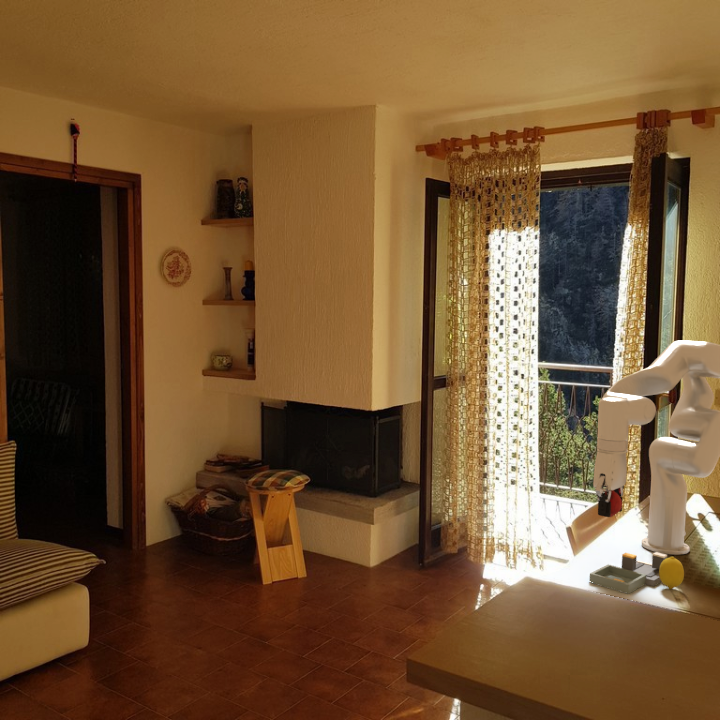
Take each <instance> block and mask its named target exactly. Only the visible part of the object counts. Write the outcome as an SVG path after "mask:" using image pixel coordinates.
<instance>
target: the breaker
mask: <svg viewBox="0 0 720 720" xmlns="http://www.w3.org/2000/svg"><path fill="white" fill-rule="evenodd" d="M666 558H668V554H663V553H658V552H653V553H652V559H651V562H652V563H651V564H652V568H655V569H660V565H661V563H662V561H663V560H665V559H666Z"/></svg>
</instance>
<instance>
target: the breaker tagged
mask: <svg viewBox="0 0 720 720" xmlns="http://www.w3.org/2000/svg"><path fill="white" fill-rule="evenodd" d="M621 556H622V557H621V568H623V569H627V570H631V571H634V570H636V561H637V558H638V557H637V555H636V554H632V553H629V552H624V553H622V554H621Z"/></svg>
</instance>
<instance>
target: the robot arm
mask: <svg viewBox="0 0 720 720" xmlns="http://www.w3.org/2000/svg"><path fill="white" fill-rule="evenodd" d="M707 378H713V379H720V344H718V343H714V342H710V341H704V340H703V341H701V340H699V341H698V340H689V339H686V340H685V339H683V340H674V341H673V342H671V343H670V344H668V346H667V347H666V348H665V349H664V350H663V351H662V352H661V353H660V354H659V355H658V356H657V358H655V359H654V361H653V362H652V363H651V364H650V365H649V366H648V367H645V368H644V369H640V370H638V371H636V372H633V373H631V374H629V375H625V376H623V378H620V379H619V380H617V381H615V383H613V384H612V386H611V387H610V388H609V389H607V391H606V392H605V393H604V394H603V396H602V398H601V399H600V400H599V402H598V414H597V416H598V417H597V419H598V421H597V440H596V441H597V445H596V450H597V451H596V457H595V463H594V469H593V470H594V473H593V483H592V484H593V488H594V489H595V491H594V492H595V493H596V496H597V515H598V516H601V517H605V518H611V517H610V515H611V502H609V501H610V496H611V491H613V490H614V491H615V492H616V493H617V494H618V495H619V496H620V498H621V500H622V501H623V497H624V489H625V485H626V483H627V477H628V474H627V470H628V469H627V468H628V466H627V463H628V461H627V453H628V452H629V427H630V425H633V426H634V425H635V426H644V425H647V424H648V423H649V424H650V423H651V422H652V421H653V420H654V418H655V417H656V413H657V412H656V411H657V410H656V409H657V408H656V405H655V403H654V402H653V400H651V399H650V398H648V397H646V396H653V395H660V394H663V393H667V392H670V391H671V390H673V389H674V388H675V387H676V385H677V384H678V383H679V382H680V381H681V380H682V382H683V383H682V384H683V389H682V392H681V395H680V397H679V400H678V401H677V403H676V405H675V408H674V410H673V412H672V415H671V416H670V419H669V421H668V430H669V433H671V434H672V435H673V436H675V437H671V436H661V437H657V438H655V439H654V440H653V441H652V442H651V444H650V445H649V448H648V457H649V459H648V460H649V464H650V465H649V466H650V475H651V477H650V480H651V481H650V495H649V512H648V513H649V514H648V526H647V527H648V529H647V530H648V531H647V537H645V538H643V539H642V540H641V546H642V547H643V548H645V549H647V550H648V551H652V552H653V553H655V552H658V553H662V554H666V555H672V556H673V555H674V556H677V555H687V554H688V553H689V552H690V546H689V545H688V544H687V543H685V536H686V534H687V532H686V530H685V528H686V515H687V502H688V501H687V499H688V485H687V482H686V480H685V478H684V475H685V476H690V477H695V478H701V479H702V478H704V479H705V478H706V477H709V476H710V475H711V474H712V473H713V471H714V470H715V467H716V466H717V463H718V461H719V460H720V410H718V409H712V405H713V403H714V400H715V394H714V391H713V390H712V387H711V386H710V384H709V382H708V380H707ZM604 487H605V488H604ZM604 492H607V496H606V494H605V493H604ZM622 511H623V507H622V508H621V510H620V511H619V512H618V513H621V512H622Z"/></svg>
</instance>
